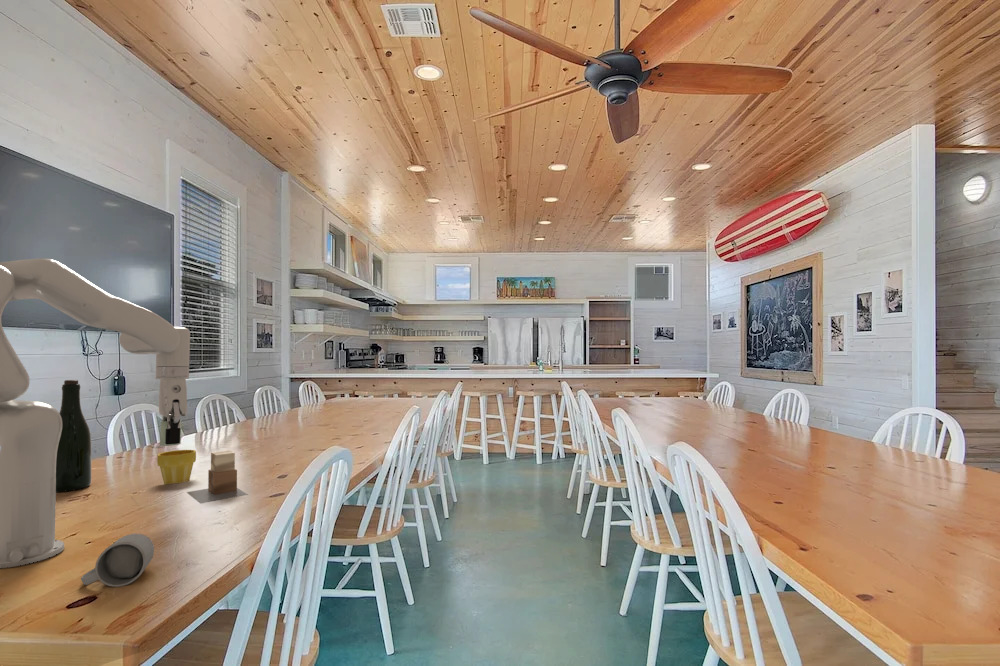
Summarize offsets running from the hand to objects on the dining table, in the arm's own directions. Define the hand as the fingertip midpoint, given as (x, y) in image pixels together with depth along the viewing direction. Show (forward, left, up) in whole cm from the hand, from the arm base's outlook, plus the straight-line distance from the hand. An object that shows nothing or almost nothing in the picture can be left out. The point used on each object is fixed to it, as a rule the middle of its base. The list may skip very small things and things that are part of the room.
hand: (170, 441), depth 139 cm
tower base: (+6, -14, -17) cm, 23 cm away
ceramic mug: (-42, +16, -18) cm, 49 cm away
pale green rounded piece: (0, 0, -1) cm, 1 cm away
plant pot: (+29, -7, -18) cm, 35 cm away
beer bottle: (+46, +18, -18) cm, 53 cm away
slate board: (+4, -12, -18) cm, 22 cm away
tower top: (+6, -14, -11) cm, 19 cm away
